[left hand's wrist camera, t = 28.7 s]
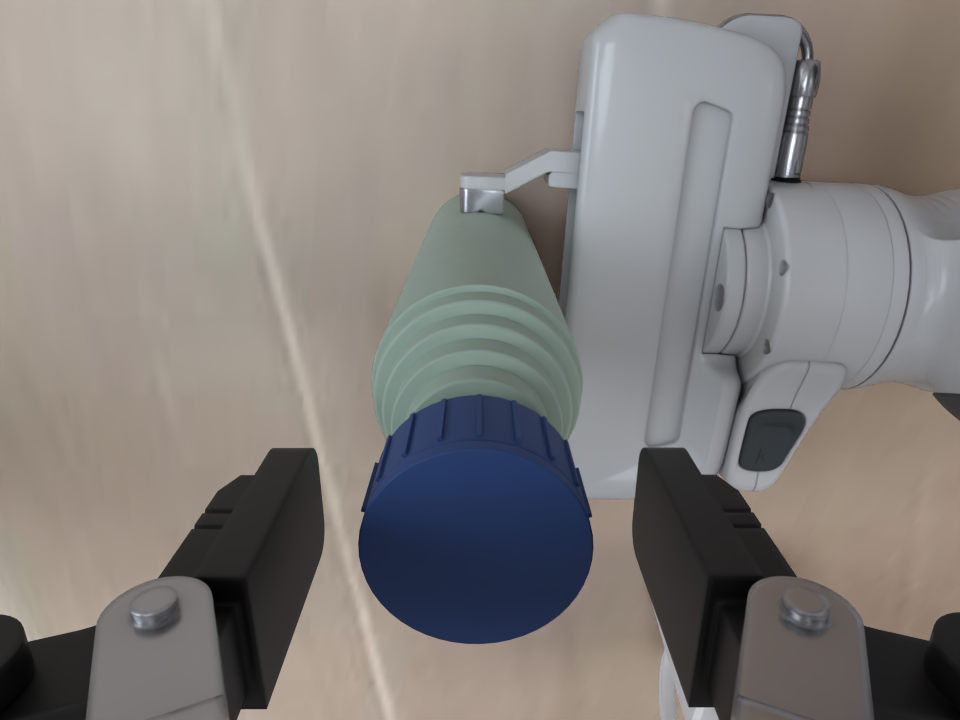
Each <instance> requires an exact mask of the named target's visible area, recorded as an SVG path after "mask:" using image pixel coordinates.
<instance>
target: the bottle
mask: <svg viewBox="0 0 960 720" xmlns="http://www.w3.org/2000/svg"><path fill="white" fill-rule="evenodd" d="M582 391H583V374H582V365H581V361H580V357H579V353H578V351H577V348H576V346H575V343H574V341H573V338H572V336H571V333H570V331H569V329H568V326H567V324H566V321H565V319H564V316H563V314H562V311H561V309H560V306H559V304H558V302H557V299H556V297H555V294H554V292H553V289H552V287H551V284H550V282H549V279H548V277H547V275H546V272H545V270H544V267H543V265H542V262H541V260H540V257H539V255H538V252H537V250H536V248H535V245H534V243H533V240H532V238H531V235H530V233H529V230H528V228H527V225H526V223H525V221H524V219H523V217H522V215H521V213H520V212H519V211H518V210H517V208H516V207H515V206H514V205H513V204H512V203H510V202H509V201H508V200H506V199H505V198H504V200H503V214H490V213H485V212H483V211H482V210H480V211H478V212H477V213H464V212H460V195H458V196H456V197H454V198H452V199H451V200H449V201H448V202H447V203H446V204H444V205H443V206H442V207H441V208H440V210H439V211H438V212H437V214H436V215H435V217H434V219H433V221H432V223H431V225H430V228H429V230H428V232H427V234H426V237H425V239H424V241H423V244H422V246H421V248H420V251H419V253H418V255H417V258H416V260H415V262H414V265H413V267H412V269H411V272H410V274H409V276H408V279H407V281H406V283H405V286H404V288H403V290H402V293H401V295H400V297H399V300H398V302H397V304H396V307H395V309H394V311H393V314H392V316H391V318H390V321H389V323H388V325H387V328H386V330H385V332H384V335H383V337H382V339H381V342H380V344H379V347H378V350H377V352H376V355H375V359H374V364H373V369H372V394H373V399H374V408H375V413H376V417H377V421H378V423H379V426H380V428H381V431H382V433H383V435H384V436H385V438H386V440H387V437H388V436H389V435H391V436H392V435H393V434H394V432H395V431H396V430H397V429H398V428H399V426H400V425H402V424H403V423H404V422H405V421H406V420H407V419H408V418H409V417H410V414H412V413H413V412H414V413H417V412H418V411H420V410H421V409H423V408H425V407H427V406H429V405H431V404H434V403H437V402H439V401H441V399H444V398H446V399H450V398H454V397H460V396H469V395H477V394H482V395H485V396H492V397H499V398H503V399H507V400H510V401H512V400H515V401H517V403H518V404H521V405H523V406H526V407H527V408H529V409H531V410H533V411H535V412H536V413H538V414H539V415H540V416H542V417H543V416H545V417H546V418H547V420H548V422H549V423H550V424H551V425H552V426H553V427H554V428H555V429H556V430H557V431H558V433H559V434H560V435H561V437H562V438H563V439H564V440H566V439H567V441H568V439H569V438H570V436H571V434H572V432H573V429H574V427H575V425H576V421H577V418H578V415H579V410H580V404H581V397H582Z"/></svg>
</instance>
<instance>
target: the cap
mask: <svg viewBox="0 0 960 720" xmlns="http://www.w3.org/2000/svg"><path fill="white" fill-rule="evenodd" d="M361 512H365V513H364V516H363V520H362V524H361V528H360V532H359V542H358V546H359V558H360V563H361V567H362V571H363V573H364V576H365V579H366V581H367V583H368V585H369V587H370V588H371V590H372V592H373V594H374V595H375V596H376V598H377V599H378V600H379V602H380V603H381V604H382V605H383V606H384V607H385V608H386V609H387V610H388V611H389V612H390V613H391V614H392V615H394V616H395V617H396V618H397V619H399V620H400V621H401V622H403V623H405V624H406V625H408V626H409V627H411V628H413V629H415V630H417V631H419V632H421V633H423V634H426V635H429V636H432V637H435V638H438V639H441V640H446V641H450V642H457V643H465V644H486V643H496V642H501V641H506V640H511V639H514V638H517V637H521V636H524V635H526V634H528V633H531V632H533V631H535V630H537V629H539V628H541V627H543V626H544V625H546V624H548V623H549V622H551V621H552V620H553V619H555V618H556V617H557V616H559V615H560V614H561V613H562V612H563V611H564V610H565V609H566V608H567V607H568V606H569V605H570V604H571V603H572V601H573V600H574V599H575V598H576V596H577V595H578V593H579V592H580V590H581V588H582V587H583V585H584V583H585V580H586V578H587V576H588V573H589V570H590V566H591V562H592V556H593V534H592V530H591V525H590V521H589V518H590V517H592V514H591V510H590V507H589V503H588V499H587V496H586V492H585V489H584V485H583V481H582V478H581V474H580V471H579V468H575V465H574V461H573V457H572V453H571V450H570V446H569V442H568V441H567V439H566V440H564V439H563V438H562V437H561V435H560V434H559V433H558V431H557V430H556V429H555V428H554V427H553V426H552V425H551V424H550V423H549V422H548V420H547V418H546V417H545V416H543V417H542V416H540V415H539V414H538V413H536V412H535V411H533V410H531V409H529V408H527V407H526V406H523V405H521V404H518V403H517V401H515V400H512V401H510V400H507V399H503V398H499V397H492V396H485V395H482V394H477V395H469V396H460V397H454V398H450V399H446V398H444V399H441V401H439V402H437V403H434V404H431V405H429V406H427V407H425V408H423V409H421V410H420V411H418V412H417V413H414V412H413V413H412V414H410V417H409V418H408V419H407V420H406V421H405V422H404V423H403V424H402V425H400V426H399V428H398V429H397V430H396V431H395V432H394V434H393V435H392V436H391V435H389V436H388V437H387V440H386V443H385V447H384V450H383V452H382V455H381V457H380V461H379V463H376V462H375V465H374V469H373V472H372V475H371V479H370V482H369V485H368V489H367V492H366V496H365V499H364V502H363V506H362V509H361Z"/></svg>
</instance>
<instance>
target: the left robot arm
mask: <svg viewBox="0 0 960 720" xmlns="http://www.w3.org/2000/svg"><path fill="white" fill-rule="evenodd" d="M632 534H633V544H634V550H635V555H636V558H637V561H638V564H639V567H640V569H641V572H642V575H643V578H644V581H645V584H646V587H647V589H648V592H649V595H650V598H651V601H652V604H653V607H654V609H655V612H656V615H657V618H658V621H659V624H660V627H661V629H662V632H663V635H664V638H665V641H666V644H667V647H668V650H669V652H670V655H671V658H672V661H673V664H674V667H675V670H676V672H677V675H678V678H679V681H680V684H681V687H682V690H683V692H684V695H685V698H686V701H687V704H688V707H714V708H715V711H716V713H717V716H718V718H719V720H960V612H958V613H951V614H946V615H944V616H942V617H940V618H939V619H938V620H937V621H936V623H935V625H934V627H933V631H932V634H931V637H930V640H929V641H927V640H923V639H918V638H914V637H909V636H905V635H900V634H896V633H891V632H887V631H882V630H878V629H874V628H870V627H866V626H864V625H863V621H862V619H861V617H860V615H859V613H858V612H857V611H856V609H855V608H854V607H853V606H852V605H851V604H850V603H849V602H848V601H847V600H845V599H844V598H843V597H842V596H840V595H839V594H837V593H836V592H834V591H832V590H831V589H829V588H827V587H825V586H823V585H820V584H818V583H815V582H812V581H809V580H806V579H802V578H797V576H796V575H795V573H794V572H793V570H792V569H791V567H790V566H789V564H788V563H787V562H786V560H785V559H784V557H783V556H782V554H781V553H780V551H779V550H778V548H777V547H776V545H775V544H774V542H773V541H772V539H771V538H770V537H769V535H768V534H767V532H766V531H765V529H764V528H761V523H760V522H759V520H758V519H757V517H756V516H755V514H754V513H751V509H750V507H749V506H748V504H747V503H746V501H745V500H744V498H743V497H742V495H741V494H740V492H739V491H738V490H737V489H735V488H734V487H733V486H731V485H730V484H728V483H727V482H726V481H724V480H723V479H721V478H720V477H718V476H717V475H702V474H701V473H700V471H699V469H698V468H697V466H696V464H695V463H694V461H693V459H692V458H691V456H690V454H689V453H688V451H687V450H686V449H685V448H683V447H644V448H642V449H641V451H640V454H639V460H638V470H637V480H636V490H635V501H634V511H633V522H632ZM323 544H324V514H323V504H322V494H321V484H320V474H319V464H318V457H317V453H316V451H315V449H314V448H272V449H271V450H270V451H269V453H268V454H267V456H266V457H265V459H264V461H263V462H262V464H261V465H260V467H259V469H258V470H257V472H256V474H255V475H240V476H239V477H237V478H236V479H235V480H233V481H232V482H230V483H229V484H228V485H226V486H225V487H223V488H222V489H220V490H219V491H218V492H217V493H216V495H215V496H214V498H213V499H212V501H211V502H210V503H209V505H208V506H207V508H206V509H205V513H203V514H202V515H201V517H200V518H199V519H198V521H197V522H196V524H195V528H194V529H192V530H191V531H190V533H189V534H188V535H187V537H186V538H185V540H184V541H183V543H182V544H181V546H180V547H179V549H178V550H177V551H176V553H175V554H174V556H173V557H172V559H171V560H170V562H169V563H168V565H167V566H166V567H165V569H164V570H163V572H162V573H161V575H160V576H159V578H158V579H154V580H151V581H148V582H145V583H142V584H140V585H137V586H135V587H133V588H131V589H129V590H128V591H126V592H124V593H123V594H121V595H120V596H118V597H117V598H116V599H115V600H113V601H112V602H111V603H110V604H109V605H108V606H107V607H106V608H105V609H104V611H103V612H102V613H101V615H100V617H99V619H98V621H97V625H96V626H93V627H90V628H86V629H83V630H79V631H74V632H70V633H66V634H61V635H57V636H52V637H48V638H43V639H39V640H34V641H30V642H28V640H27V637H26V634H25V631H24V628H23V626H22V624H21V622H19V621H18V620H17V619H15V618H13V617H11V616H7V615H0V720H237V718H238V715H239V713H240V710H241V709H267V707H268V704H269V701H270V698H271V696H272V693H273V690H274V687H275V684H276V681H277V679H278V676H279V673H280V670H281V667H282V665H283V662H284V659H285V656H286V653H287V651H288V648H289V645H290V642H291V639H292V637H293V634H294V631H295V628H296V625H297V623H298V620H299V617H300V614H301V611H302V609H303V606H304V603H305V600H306V597H307V594H308V592H309V589H310V586H311V583H312V580H313V578H314V575H315V572H316V569H317V566H318V564H319V561H320V558H321V554H322V550H323Z"/></svg>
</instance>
